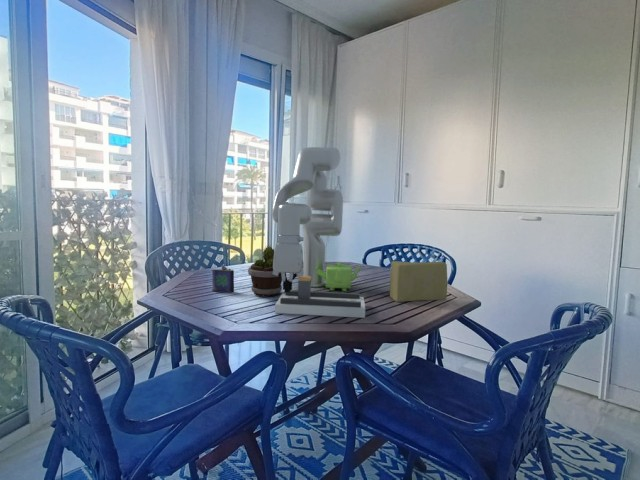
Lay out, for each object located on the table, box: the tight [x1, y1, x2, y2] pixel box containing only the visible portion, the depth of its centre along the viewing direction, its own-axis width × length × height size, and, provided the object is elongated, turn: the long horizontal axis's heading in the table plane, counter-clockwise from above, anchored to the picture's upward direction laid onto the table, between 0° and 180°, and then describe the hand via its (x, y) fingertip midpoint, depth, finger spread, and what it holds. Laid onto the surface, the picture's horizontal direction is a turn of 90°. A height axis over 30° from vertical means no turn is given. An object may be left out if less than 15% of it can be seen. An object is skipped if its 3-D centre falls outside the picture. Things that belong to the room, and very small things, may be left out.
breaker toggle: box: [297, 275, 312, 299], centre depth 135 cm, size 5×4×8 cm
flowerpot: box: [247, 244, 283, 297], centre depth 153 cm, size 14×15×20 cm
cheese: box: [389, 260, 448, 303], centre depth 152 cm, size 22×10×15 cm, turn 97°
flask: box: [211, 264, 235, 293], centre depth 155 cm, size 9×3×11 cm, turn 79°
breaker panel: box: [274, 289, 366, 319], centre depth 135 cm, size 15×30×5 cm, turn 86°
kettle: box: [316, 262, 364, 292], centre depth 165 cm, size 15×14×11 cm
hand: (287, 291), depth 135 cm, fingers closed
